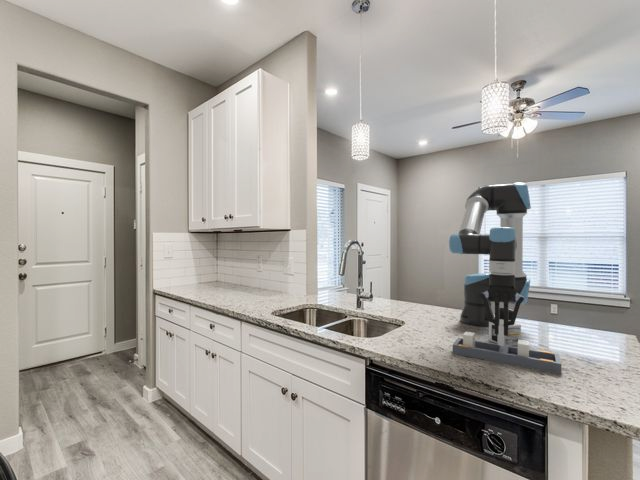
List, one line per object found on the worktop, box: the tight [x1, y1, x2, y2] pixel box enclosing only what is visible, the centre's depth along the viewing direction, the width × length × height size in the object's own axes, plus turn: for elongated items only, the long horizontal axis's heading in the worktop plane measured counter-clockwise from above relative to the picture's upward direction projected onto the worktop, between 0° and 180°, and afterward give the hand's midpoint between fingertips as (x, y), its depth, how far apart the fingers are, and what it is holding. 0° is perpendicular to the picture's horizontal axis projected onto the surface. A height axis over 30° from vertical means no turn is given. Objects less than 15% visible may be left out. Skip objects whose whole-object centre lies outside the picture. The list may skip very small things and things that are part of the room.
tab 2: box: [517, 339, 530, 357], centre depth 103 cm, size 5×3×5 cm, turn 146°
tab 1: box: [462, 331, 476, 347], centre depth 112 cm, size 5×3×5 cm, turn 146°
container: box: [488, 307, 522, 347], centre depth 122 cm, size 8×8×13 cm
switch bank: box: [452, 337, 562, 375], centre depth 106 cm, size 10×30×3 cm, turn 56°
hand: (501, 344), depth 106 cm, fingers closed
